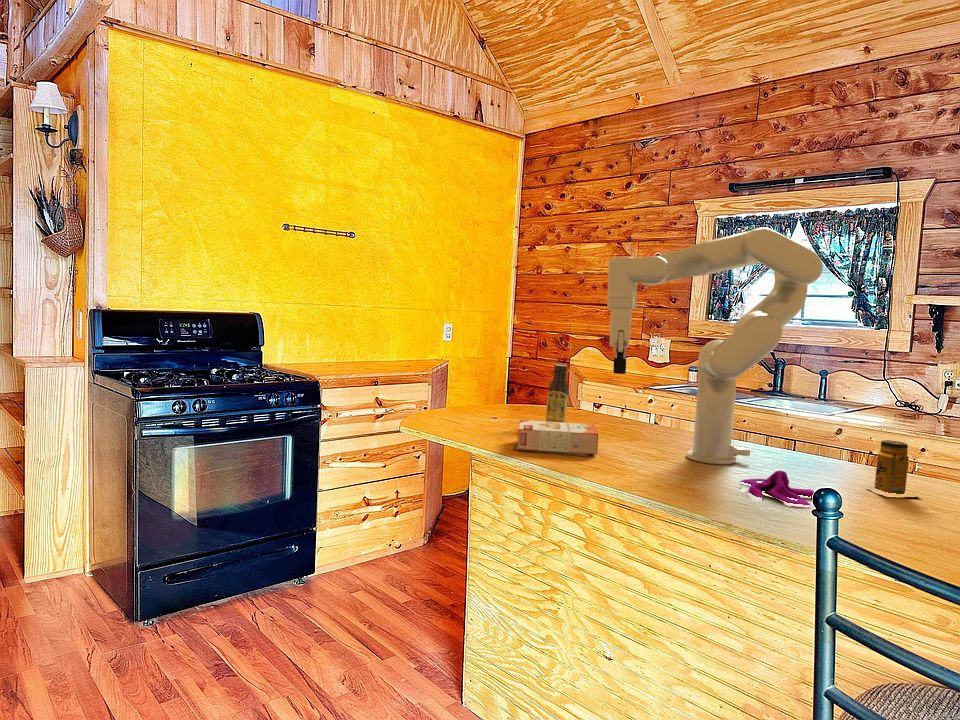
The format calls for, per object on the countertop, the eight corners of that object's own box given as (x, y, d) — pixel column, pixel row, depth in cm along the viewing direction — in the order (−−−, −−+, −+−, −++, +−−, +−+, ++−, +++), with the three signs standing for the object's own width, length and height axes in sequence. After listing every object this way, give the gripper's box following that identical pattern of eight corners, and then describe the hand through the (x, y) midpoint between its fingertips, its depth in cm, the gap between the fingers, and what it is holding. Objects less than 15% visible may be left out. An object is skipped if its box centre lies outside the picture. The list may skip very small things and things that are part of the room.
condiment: (865, 489, 160) (870, 438, 159) (899, 490, 161) (904, 439, 160) (886, 498, 153) (892, 445, 152) (922, 499, 154) (928, 446, 153)
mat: (591, 444, 195) (591, 442, 195) (589, 456, 179) (589, 455, 179) (520, 438, 198) (520, 436, 198) (513, 450, 183) (513, 448, 182)
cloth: (745, 480, 166) (747, 454, 165) (830, 497, 154) (833, 470, 154) (713, 498, 148) (715, 470, 148) (806, 519, 137) (809, 489, 136)
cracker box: (599, 432, 179) (518, 428, 180) (597, 455, 179) (517, 450, 181) (594, 422, 193) (518, 418, 194) (592, 444, 193) (517, 440, 195)
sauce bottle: (543, 428, 214) (547, 365, 212) (547, 425, 220) (551, 363, 218) (564, 430, 212) (568, 366, 210) (567, 427, 218) (571, 364, 216)
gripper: (607, 303, 190) (605, 370, 192) (607, 304, 175) (604, 376, 177) (635, 304, 189) (633, 371, 190) (637, 304, 174) (635, 377, 176)
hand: (619, 373), depth 184 cm, fingers closed
